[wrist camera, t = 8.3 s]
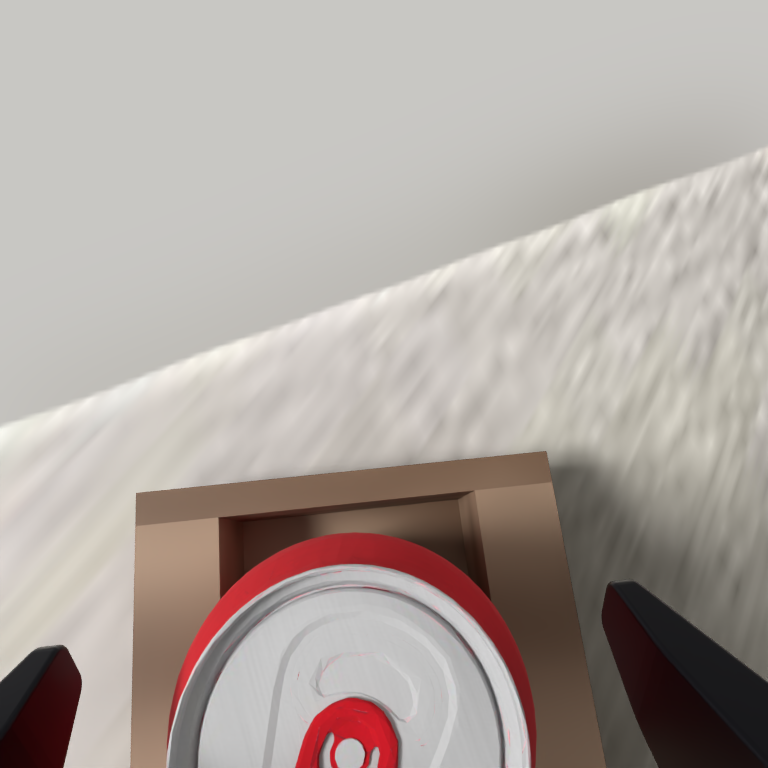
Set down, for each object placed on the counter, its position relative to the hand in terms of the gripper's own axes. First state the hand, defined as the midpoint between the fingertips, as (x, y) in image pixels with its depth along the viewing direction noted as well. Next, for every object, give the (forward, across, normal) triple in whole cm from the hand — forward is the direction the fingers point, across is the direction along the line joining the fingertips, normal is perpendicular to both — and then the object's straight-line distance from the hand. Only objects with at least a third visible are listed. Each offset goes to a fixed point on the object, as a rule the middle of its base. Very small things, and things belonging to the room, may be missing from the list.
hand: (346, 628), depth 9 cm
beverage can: (+7, 0, +9) cm, 11 cm away
